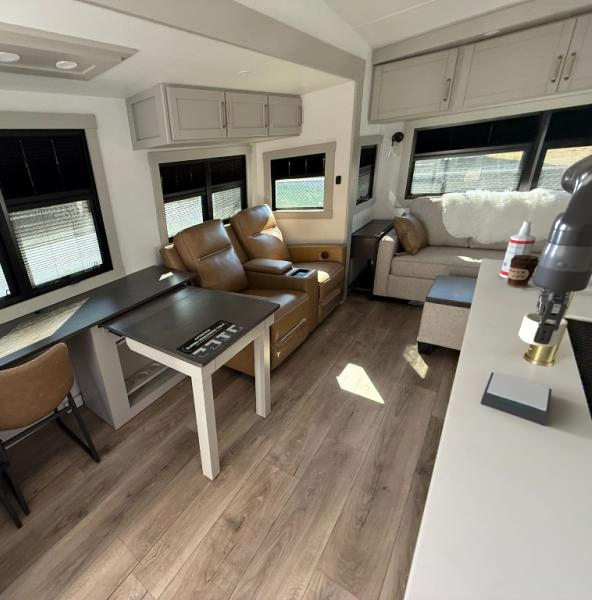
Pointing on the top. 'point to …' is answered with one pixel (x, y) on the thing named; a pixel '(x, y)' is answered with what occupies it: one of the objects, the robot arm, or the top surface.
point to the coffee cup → (522, 270)
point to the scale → (518, 397)
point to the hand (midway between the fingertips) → (539, 335)
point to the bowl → (530, 329)
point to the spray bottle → (518, 247)
